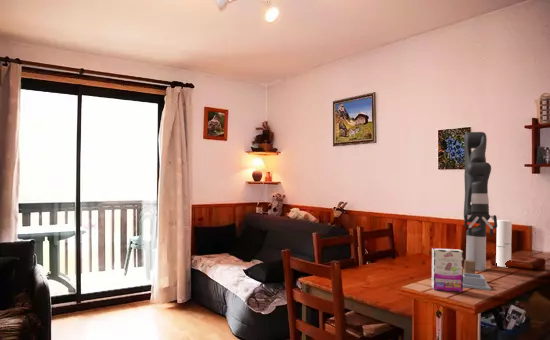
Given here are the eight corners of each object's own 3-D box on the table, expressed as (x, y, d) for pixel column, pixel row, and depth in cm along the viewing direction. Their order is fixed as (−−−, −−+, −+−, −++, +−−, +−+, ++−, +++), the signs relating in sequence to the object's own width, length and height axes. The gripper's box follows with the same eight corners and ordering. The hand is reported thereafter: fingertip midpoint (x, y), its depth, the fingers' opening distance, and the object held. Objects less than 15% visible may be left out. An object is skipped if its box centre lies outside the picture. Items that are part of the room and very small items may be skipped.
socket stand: (456, 280, 176) (456, 271, 176) (485, 283, 172) (486, 274, 172) (458, 286, 165) (458, 277, 165) (490, 290, 160) (490, 280, 161)
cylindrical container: (513, 267, 211) (513, 221, 212) (498, 266, 212) (499, 220, 213) (508, 265, 218) (508, 220, 218) (494, 264, 219) (494, 219, 220)
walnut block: (464, 278, 181) (464, 259, 181) (473, 279, 180) (474, 260, 180) (465, 280, 177) (465, 261, 178) (474, 281, 176) (475, 262, 176)
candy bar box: (459, 289, 160) (460, 249, 161) (463, 292, 155) (463, 251, 156) (430, 287, 162) (431, 247, 163) (433, 290, 157) (434, 249, 158)
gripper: (496, 203, 192) (497, 236, 190) (464, 202, 198) (465, 234, 197) (496, 203, 185) (498, 237, 184) (463, 202, 192) (464, 236, 190)
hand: (480, 236), depth 190 cm, fingers open, 8 cm apart
